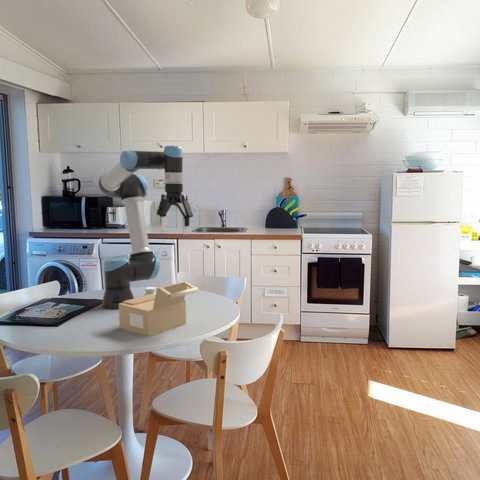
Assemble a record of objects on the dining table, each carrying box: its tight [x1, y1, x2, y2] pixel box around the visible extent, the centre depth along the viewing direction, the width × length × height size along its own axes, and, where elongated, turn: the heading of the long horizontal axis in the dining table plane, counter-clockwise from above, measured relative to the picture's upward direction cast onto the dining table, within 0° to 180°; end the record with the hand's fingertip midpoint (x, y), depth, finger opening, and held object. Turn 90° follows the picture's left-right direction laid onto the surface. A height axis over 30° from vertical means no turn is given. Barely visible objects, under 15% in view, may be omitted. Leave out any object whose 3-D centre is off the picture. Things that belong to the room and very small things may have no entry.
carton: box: [118, 294, 187, 337], centre depth 189 cm, size 18×20×11 cm
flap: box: [153, 280, 199, 310], centre depth 179 cm, size 10×16×8 cm
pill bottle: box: [143, 286, 157, 296], centre depth 207 cm, size 6×6×12 cm
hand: (174, 232), depth 198 cm, fingers open, 13 cm apart
